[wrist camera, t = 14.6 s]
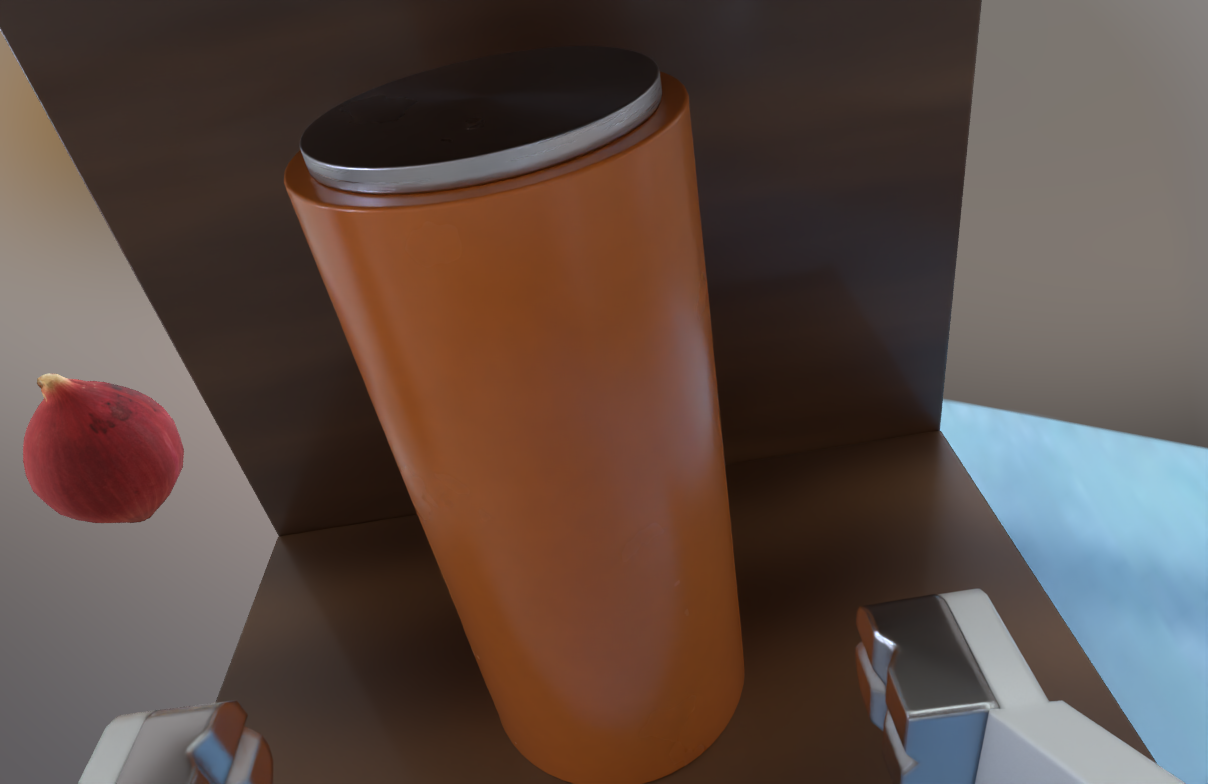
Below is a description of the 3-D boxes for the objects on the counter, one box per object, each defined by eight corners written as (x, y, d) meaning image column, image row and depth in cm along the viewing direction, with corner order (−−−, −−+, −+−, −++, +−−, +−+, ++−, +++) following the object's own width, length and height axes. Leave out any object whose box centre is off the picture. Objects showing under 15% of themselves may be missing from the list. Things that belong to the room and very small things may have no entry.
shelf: (1126, 904, 19) (1926, -818, 5) (224, 1024, 20) (-1155, -147, 6) (919, 519, 30) (997, -385, 16) (336, 610, 31) (-77, -165, 17)
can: (784, 615, 21) (755, 33, 13) (670, 840, 17) (522, 194, 9) (581, 545, 25) (455, 43, 16) (445, 719, 20) (183, 165, 12)
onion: (200, 457, 41) (120, 320, 36) (222, 518, 36) (135, 371, 32) (75, 513, 38) (-26, 374, 34) (84, 584, 34) (-31, 437, 30)
